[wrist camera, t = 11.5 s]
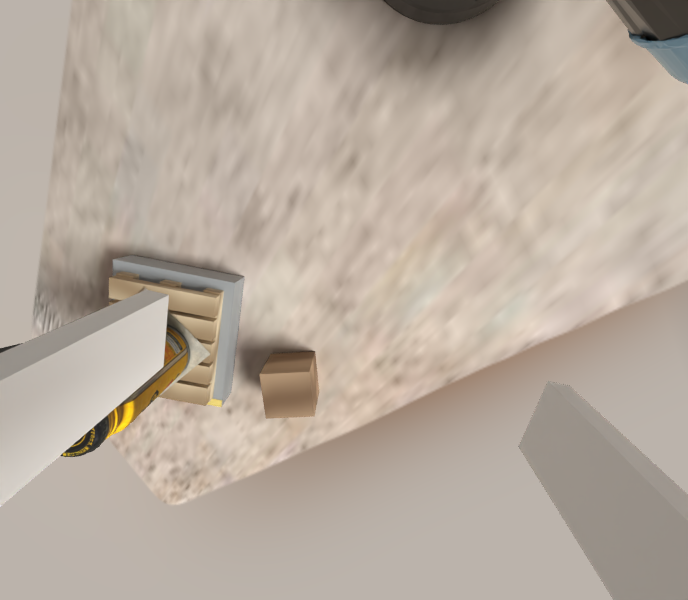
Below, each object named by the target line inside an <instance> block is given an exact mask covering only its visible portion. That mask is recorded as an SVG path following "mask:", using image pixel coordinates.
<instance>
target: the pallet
mask: <svg viewBox="0 0 688 600" xmlns="http://www.w3.org/2000/svg"><path fill="white" fill-rule="evenodd" d="M181 284H182V283H181V282H176V281H171V280H163V281H160V284H159V283H153V282H148V281H143V280H139V274H134V273H129V272H124V271H122V272H119V273H116V275H115V276H112V277H109V298H112V299H115V300H112V301H110V302H109V306H110V305H112V304H115V303H117V302H119V301H122V300H124V299H126V298H129V297H131V296H133V295H135V294H138V293H140V292H142V291H143V290H144V289H145V288H146V289H147V290H150V291H154V292H159V293H163V294H168V295H169V301H168V311H169V312H170V314H171V315H172V316H173V317H174V318H176V319H177V320H178V321H179V322H180V323H181V324H182V325H183V326H184V327H185V328H186V329H187V330H188V331H189V332H190V333H191V334H192V335H193V336H194V338H196V339H197V340H198V341H199V342H200V343H201V344H202V345H203V347H204V348H205V349H206V350H207V351H208V352H209V353H210V355H209V356H208V357H206V358H205V359H204V360H203V361H202V362H200V363H199V364H198V365H197V366H195V367H194V368H193V369H192V370H191V371H189V372H188V373H187V374H186V375H184V376H183V377H182V378H181V379H180V380H178V381H177V382H176V383H175V384H174V385H172V386H171V387H170V388H169V389H168V390H166V391H165V392H164V393H163V394H162V395H159V396H158V397H161V398H166V399H172V400H177V401H183V402H188V403H193V404H199V405H204V406H206V405H207V403H208V402H210V401H211V399H212V398H213V394H214V384H215V374H216V364H217V354H218V344H219V334H220V325H221V315H222V305H223V295H224V291H222V290H217V289H212V288H206V289H205V290H203V292H200V291H195V290H190V289H185V288H181Z"/></svg>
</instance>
